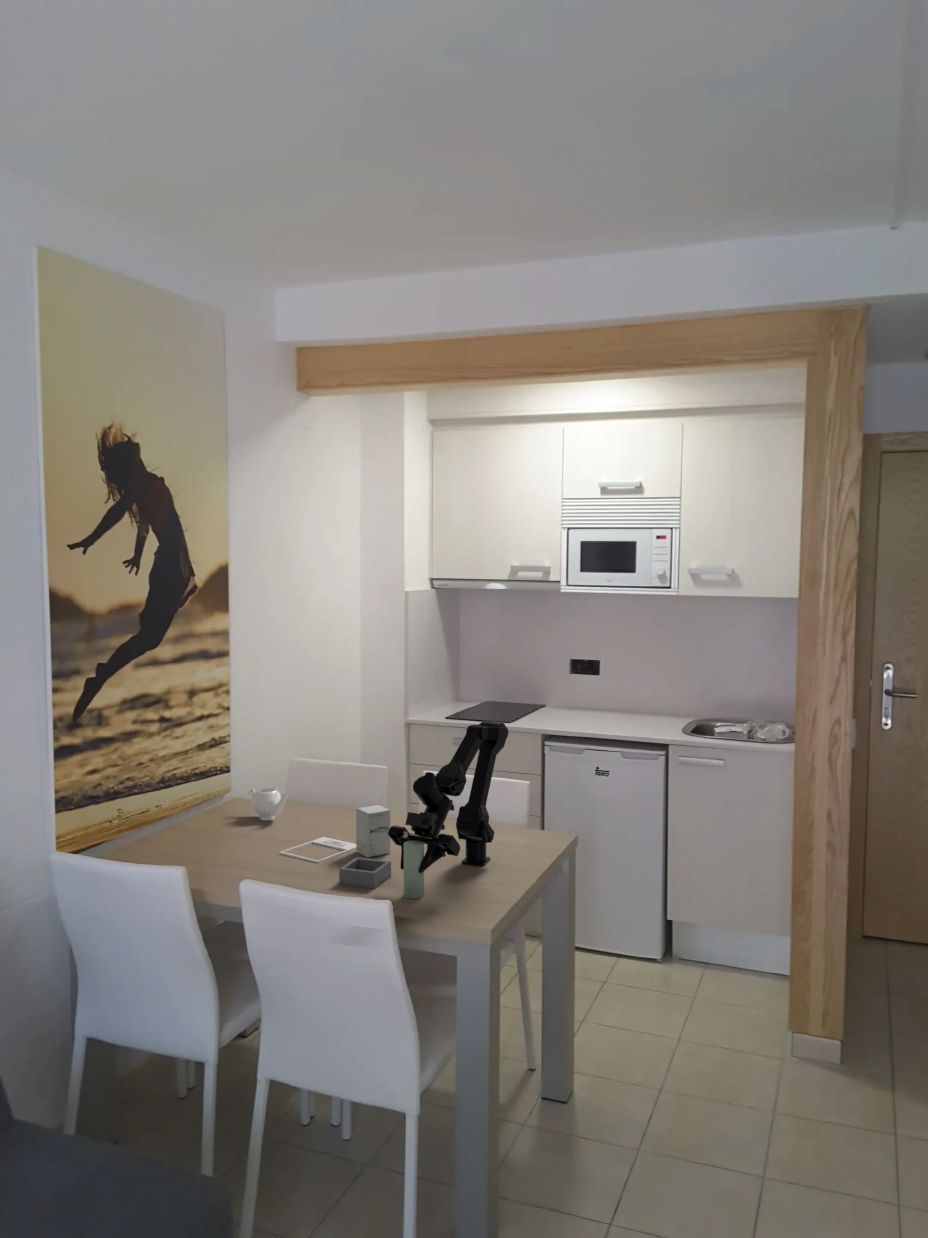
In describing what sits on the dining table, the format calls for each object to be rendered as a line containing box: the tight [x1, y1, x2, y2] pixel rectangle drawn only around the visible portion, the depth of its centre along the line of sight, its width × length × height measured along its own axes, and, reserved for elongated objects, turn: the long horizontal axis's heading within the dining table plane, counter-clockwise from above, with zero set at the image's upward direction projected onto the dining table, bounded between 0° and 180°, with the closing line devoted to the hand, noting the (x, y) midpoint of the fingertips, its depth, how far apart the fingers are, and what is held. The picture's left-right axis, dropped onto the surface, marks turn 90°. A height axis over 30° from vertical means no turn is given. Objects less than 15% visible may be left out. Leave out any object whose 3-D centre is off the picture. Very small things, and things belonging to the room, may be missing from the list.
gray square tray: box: [338, 856, 392, 890], centre depth 250 cm, size 10×10×4 cm
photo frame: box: [279, 836, 356, 864], centre depth 276 cm, size 15×1×18 cm
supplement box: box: [355, 804, 391, 859], centre depth 273 cm, size 7×7×13 cm
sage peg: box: [403, 841, 425, 900], centre depth 239 cm, size 5×5×13 cm
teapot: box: [247, 787, 289, 821], centre depth 309 cm, size 10×20×9 cm, turn 49°
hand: (410, 870), depth 238 cm, fingers closed on sage peg, 5 cm apart
